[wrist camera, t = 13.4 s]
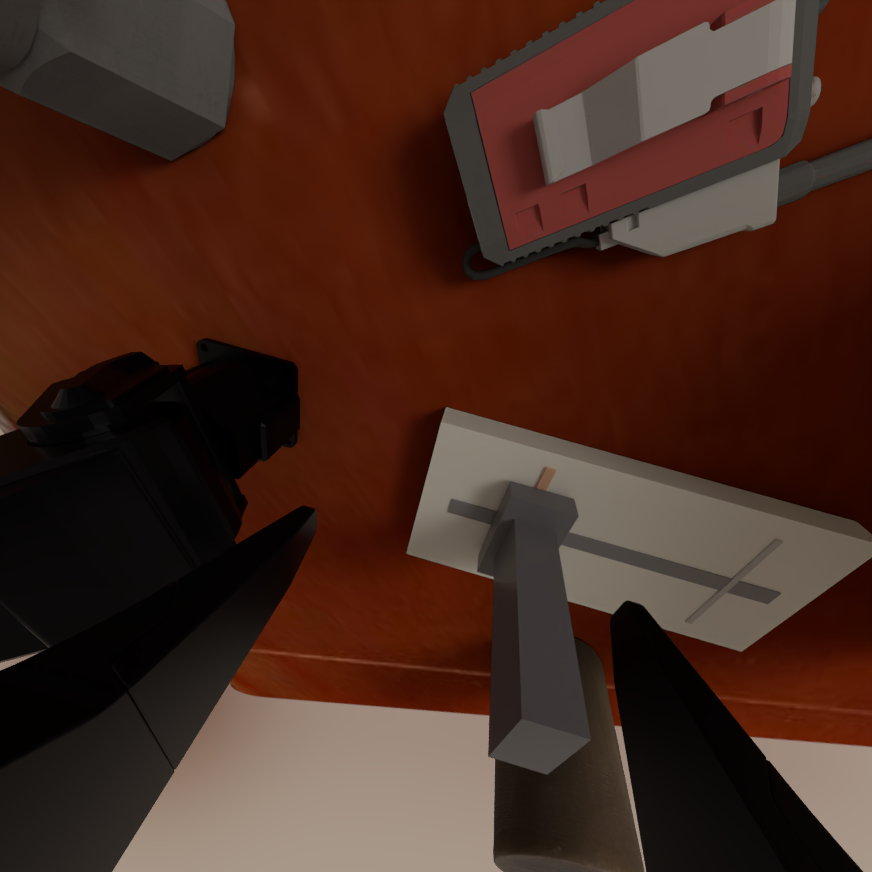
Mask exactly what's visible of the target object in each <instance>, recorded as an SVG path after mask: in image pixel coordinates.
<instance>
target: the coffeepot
mask: <svg viewBox="0 0 872 872" xmlns="http://www.w3.org/2000/svg"><path fill="white" fill-rule="evenodd" d="M234 32H235V23H234V21H233V18H232V15H231V13H230V10H229V7H228V5H227V2H226V0H0V86H1V87H3V88H6V89H8V90H10V91H12V92H14V93H16V94H18V95H20V96H23V97H25V98H27V99H30V100H32V101H34V102H36V103H39V104H41V105H43V106H46V107H48V108H50V109H53V110H55V111H57V112H59V113H62V114H64V115H66V116H69V117H71V118H73V119H76V120H78V121H80V122H83V123H85V124H87V125H89V126H92V127H94V128H96V129H99V130H101V131H103V132H106V133H108V134H110V135H112V136H115V137H117V138H119V139H122V140H124V141H126V142H129V143H131V144H133V145H136V146H138V147H140V148H142V149H145V150H147V151H149V152H152V153H154V154H156V155H159V156H161V157H163V158H165V159H168V160H170V161H172V160H174V159H176V158H178V157H180V156H182V155H183V154H185V153H187V152H189V151H191V150H194V149H196V148H199V147H201V146H203V145H204V144H205V143H206V142H207V141H209V140H210V139H211V138H212V137H213V136H214V135H215V134H216V133H218V132H219V131H221V130H222V129H224V128H225V125H226V121H227V116H228V112H229V107H230V102H231V97H232V92H233V86H234V75H235V52H234Z"/></svg>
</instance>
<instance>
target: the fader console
mask: <svg viewBox="0 0 872 872" xmlns="http://www.w3.org/2000/svg"><path fill="white" fill-rule="evenodd" d="M510 481H513V482H516V483H520V484H523V485H527V486H530V487H534V488H537V489H541V490H545V491H548V492H552V493H555V494H559V495H562V496H566V497H569V498H573V499H574V500H575V504H576V507H577V511H578V515H579V517H578V518H577V520H576V522H575V523H574V525H573V526H572V528H571V530H570V531H569V533H568V534H567V536H566V538H565V539H564V541H563V543H562V544H561V546H560V547H559V554H560V560H561V565H562V571H563V577H564V583H565V589H566V595H567V601H569V602H573V603H576V604H580V605H583V606H587V607H590V608H593V609H597V610H600V611H604V612H607V613H610V614H614V612H615V611H616V610H617V609H618V608H619V607H620V606H621V605H622V603H623V602H625V601H627V600H628V601H632V602H636V603H639V604H641V605H643V606H644V607H645V608H646V609H647V611H648V612H649V613H650V614H651V616H652V617H653V618H654V619H655V620H656V622H657V623H658V624H659V625H660V627H661V628H662V629H665V630H669V631H672V632H675V633H679V634H682V635H686V636H689V637H693V638H696V639H699V640H703V641H706V642H710V643H713V644H717V645H720V646H723V647H727V648H730V649H734V650H737V651H740V652H742V651H743V650H745V649H746V648H747V647H749V646H750V645H751V644H753V643H754V642H756V641H757V640H758V639H760V638H761V637H763V636H764V635H765V634H767V633H768V632H769V631H771V630H772V629H774V628H775V627H776V626H778V625H779V624H780V623H782V622H783V621H785V620H786V619H787V618H789V617H790V616H791V615H793V614H794V613H796V612H797V611H798V610H800V609H801V608H803V607H804V606H805V605H807V604H808V603H809V602H811V601H812V600H814V599H815V598H816V597H818V596H819V595H820V594H822V593H823V592H825V591H826V590H827V589H829V588H830V587H832V586H833V585H834V584H836V583H837V582H838V581H840V580H841V579H843V578H844V577H845V576H847V575H848V574H849V573H851V572H852V571H854V570H855V569H856V568H858V567H859V566H860V565H862V564H863V563H865V562H866V561H867V560H869V559H870V558H872V534H871V533H870V532H868V531H867V530H866V529H865V528H864V527H862V526H861V525H860V524H859V523H858V522H856V521H853V520H850V519H846V518H843V517H839V516H835V515H832V514H828V513H825V512H821V511H817V510H814V509H810V508H807V507H803V506H799V505H796V504H792V503H789V502H785V501H782V500H778V499H774V498H771V497H767V496H764V495H760V494H756V493H753V492H749V491H746V490H742V489H738V488H735V487H731V486H728V485H724V484H721V483H717V482H713V481H710V480H706V479H703V478H699V477H695V476H692V475H688V474H685V473H681V472H677V471H674V470H670V469H667V468H663V467H660V466H656V465H652V464H649V463H645V462H642V461H638V460H634V459H631V458H627V457H624V456H620V455H616V454H613V453H609V452H606V451H602V450H599V449H595V448H591V447H588V446H584V445H581V444H577V443H573V442H570V441H566V440H563V439H559V438H555V437H552V436H548V435H545V434H541V433H538V432H534V431H530V430H527V429H523V428H520V427H516V426H512V425H509V424H505V423H502V422H498V421H494V420H491V419H487V418H484V417H480V416H477V415H473V414H469V413H466V412H462V411H459V410H455V409H451V408H448V407H446V409H445V412H444V415H443V418H442V421H441V424H440V428H439V432H438V436H437V439H436V443H435V447H434V451H433V454H432V458H431V462H430V466H429V470H428V473H427V477H426V481H425V485H424V488H423V492H422V496H421V500H420V504H419V507H418V511H417V515H416V519H415V522H414V526H413V530H412V534H411V538H410V541H409V545H408V549H407V553H406V554H409V555H412V556H415V557H419V558H422V559H426V560H429V561H433V562H436V563H439V564H443V565H446V566H450V567H453V568H456V569H460V570H463V571H467V572H470V573H474V574H477V575H480V576H484V577H487V578H491V579H494V577H493V576H489V575H486V574H483V573H479V572H477V565H478V554H479V552H480V550H481V547H482V545H483V543H484V540H485V538H486V536H487V533H488V531H489V529H490V527H491V524H492V522H493V520H494V517H495V515H496V513H497V511H498V508H499V506H500V504H501V501H502V499H503V497H504V495H505V492H506V490H507V488H508V485H509V483H510Z"/></svg>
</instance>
